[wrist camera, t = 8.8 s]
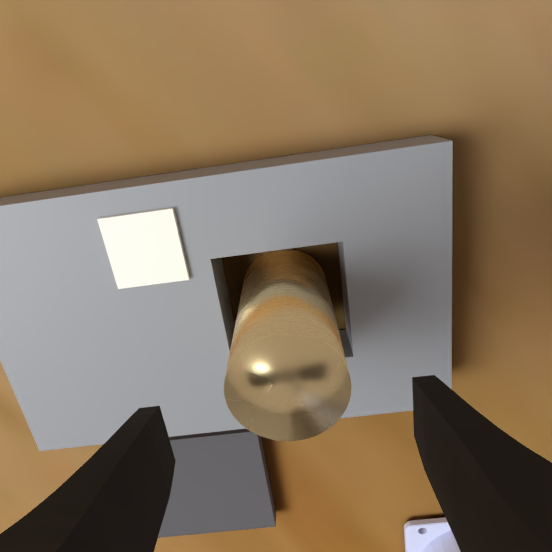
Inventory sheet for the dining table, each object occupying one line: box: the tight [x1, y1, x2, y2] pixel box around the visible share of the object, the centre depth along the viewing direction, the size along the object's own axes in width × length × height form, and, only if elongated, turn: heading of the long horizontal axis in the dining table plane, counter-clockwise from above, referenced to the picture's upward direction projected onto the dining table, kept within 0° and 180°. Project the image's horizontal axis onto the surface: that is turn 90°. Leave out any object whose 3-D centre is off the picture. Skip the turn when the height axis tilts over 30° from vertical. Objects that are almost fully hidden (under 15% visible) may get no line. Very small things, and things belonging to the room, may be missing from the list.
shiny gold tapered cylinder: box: [224, 249, 352, 441], centre depth 18 cm, size 4×4×8 cm
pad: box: [158, 429, 276, 538], centre depth 26 cm, size 7×7×1 cm
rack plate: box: [0, 135, 453, 451], centre depth 20 cm, size 20×12×3 cm, turn 98°
